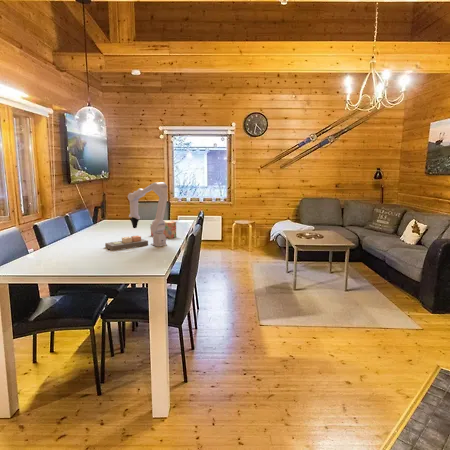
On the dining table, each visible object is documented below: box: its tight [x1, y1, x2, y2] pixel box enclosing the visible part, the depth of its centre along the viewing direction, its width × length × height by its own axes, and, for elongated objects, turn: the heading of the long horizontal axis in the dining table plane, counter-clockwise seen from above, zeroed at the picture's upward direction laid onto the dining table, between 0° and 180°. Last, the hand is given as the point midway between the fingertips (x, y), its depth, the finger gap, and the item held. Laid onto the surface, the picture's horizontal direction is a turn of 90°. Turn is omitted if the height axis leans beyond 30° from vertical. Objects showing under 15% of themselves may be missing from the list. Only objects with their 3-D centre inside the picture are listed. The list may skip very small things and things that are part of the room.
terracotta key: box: [130, 235, 142, 242], centre depth 248 cm, size 5×5×3 cm
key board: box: [104, 238, 149, 251], centre depth 244 cm, size 12×26×3 cm, turn 129°
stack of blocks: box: [150, 220, 177, 239], centre depth 279 cm, size 21×6×12 cm, turn 59°
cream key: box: [121, 236, 132, 243], centre depth 244 cm, size 5×5×3 cm
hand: (134, 227), depth 257 cm, fingers closed
